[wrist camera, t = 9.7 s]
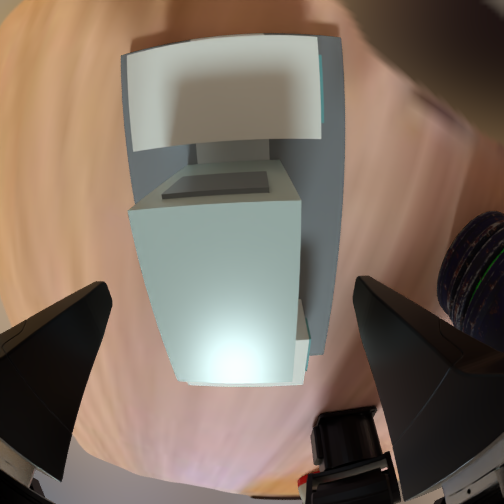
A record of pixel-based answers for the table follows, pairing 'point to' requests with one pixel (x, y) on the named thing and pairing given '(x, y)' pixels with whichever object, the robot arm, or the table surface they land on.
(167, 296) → the block
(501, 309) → the storage jar
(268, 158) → the board
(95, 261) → the table surface
